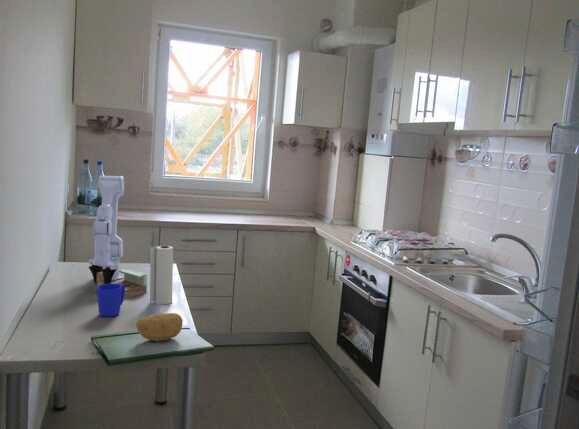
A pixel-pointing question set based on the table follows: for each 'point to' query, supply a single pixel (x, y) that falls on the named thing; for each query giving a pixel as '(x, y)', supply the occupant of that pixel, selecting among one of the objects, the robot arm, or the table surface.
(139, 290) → the socket block
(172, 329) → the potato
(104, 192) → the robot arm
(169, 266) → the paper towel roll
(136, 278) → the pale green grooved slab
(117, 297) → the mug
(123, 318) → the table surface
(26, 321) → the table surface
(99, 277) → the peg
